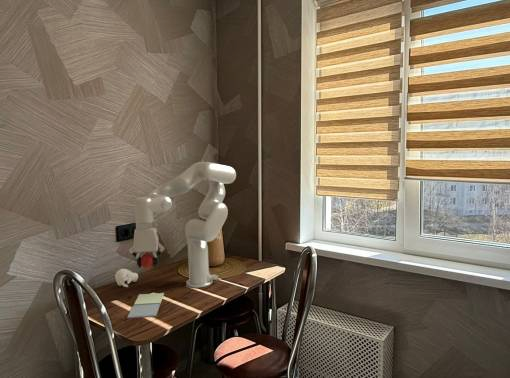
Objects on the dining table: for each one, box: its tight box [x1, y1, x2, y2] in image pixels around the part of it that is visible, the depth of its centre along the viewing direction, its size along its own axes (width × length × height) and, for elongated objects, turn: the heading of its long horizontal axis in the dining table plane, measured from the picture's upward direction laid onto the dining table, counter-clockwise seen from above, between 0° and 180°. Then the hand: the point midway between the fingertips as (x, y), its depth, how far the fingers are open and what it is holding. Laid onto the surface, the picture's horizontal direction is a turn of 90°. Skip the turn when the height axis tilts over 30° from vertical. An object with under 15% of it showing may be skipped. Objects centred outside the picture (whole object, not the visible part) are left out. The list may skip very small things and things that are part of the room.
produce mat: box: [133, 292, 165, 306], centre depth 173 cm, size 11×11×1 cm
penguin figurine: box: [114, 268, 139, 288], centre depth 193 cm, size 6×8×12 cm
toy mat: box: [126, 304, 161, 319], centre depth 161 cm, size 11×11×1 cm
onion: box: [140, 252, 154, 271], centre depth 171 cm, size 6×6×8 cm
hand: (147, 266), depth 171 cm, fingers closed on onion, 5 cm apart
